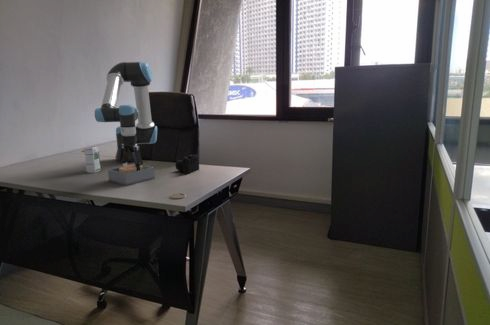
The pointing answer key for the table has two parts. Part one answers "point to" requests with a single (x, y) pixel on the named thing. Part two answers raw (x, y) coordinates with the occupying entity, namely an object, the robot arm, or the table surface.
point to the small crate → (129, 169)
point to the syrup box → (92, 159)
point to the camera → (188, 164)
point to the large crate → (131, 175)
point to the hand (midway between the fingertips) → (131, 176)
